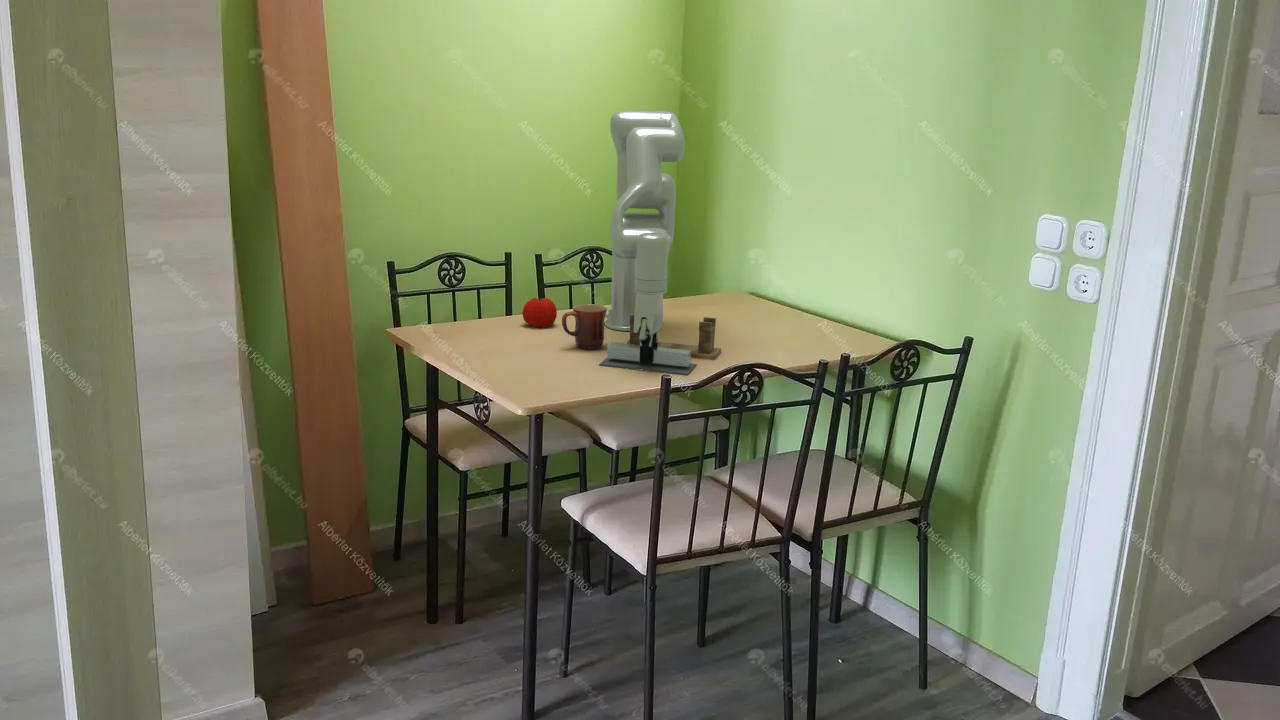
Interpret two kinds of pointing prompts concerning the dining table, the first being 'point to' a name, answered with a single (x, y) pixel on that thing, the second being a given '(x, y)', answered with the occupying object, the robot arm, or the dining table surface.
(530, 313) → the tomato
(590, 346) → the mug
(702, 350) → the rack
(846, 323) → the dining table surface
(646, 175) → the robot arm
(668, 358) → the rail
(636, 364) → the mat
